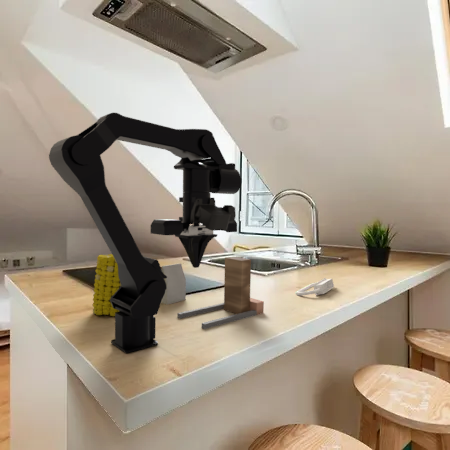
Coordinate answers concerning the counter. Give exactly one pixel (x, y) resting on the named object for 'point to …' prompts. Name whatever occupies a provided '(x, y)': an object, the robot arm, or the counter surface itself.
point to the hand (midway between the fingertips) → (195, 267)
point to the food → (105, 285)
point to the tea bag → (174, 284)
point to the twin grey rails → (255, 309)
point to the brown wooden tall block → (237, 284)
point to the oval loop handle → (317, 287)
